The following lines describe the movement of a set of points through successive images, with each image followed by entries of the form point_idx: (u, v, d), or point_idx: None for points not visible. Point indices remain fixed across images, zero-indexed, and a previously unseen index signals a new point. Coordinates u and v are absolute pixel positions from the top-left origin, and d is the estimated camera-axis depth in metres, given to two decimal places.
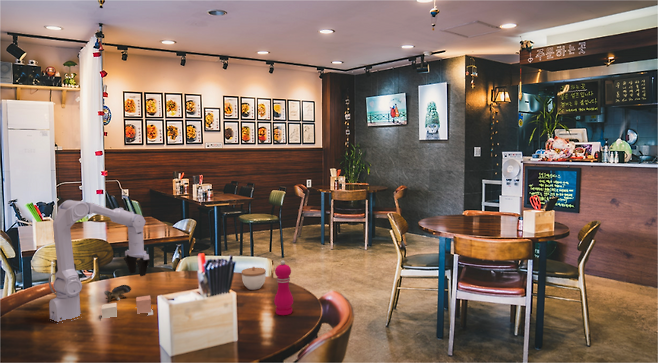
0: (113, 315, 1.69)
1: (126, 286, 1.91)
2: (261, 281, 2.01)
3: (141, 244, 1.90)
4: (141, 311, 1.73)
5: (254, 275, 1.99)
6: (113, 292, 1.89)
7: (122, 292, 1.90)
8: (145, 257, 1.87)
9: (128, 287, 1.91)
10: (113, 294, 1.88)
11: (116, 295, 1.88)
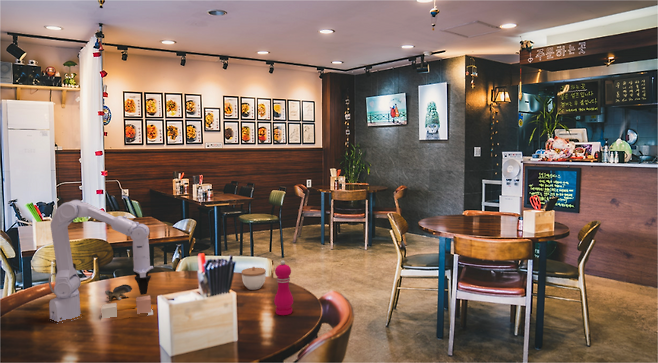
0: (113, 315, 1.69)
1: (127, 286, 1.91)
2: (261, 281, 2.01)
3: (143, 259, 1.72)
4: (141, 311, 1.73)
5: (254, 275, 1.99)
6: (114, 292, 1.89)
7: (123, 292, 1.91)
8: (141, 275, 1.68)
9: (129, 287, 1.92)
10: (113, 293, 1.88)
11: (117, 295, 1.89)
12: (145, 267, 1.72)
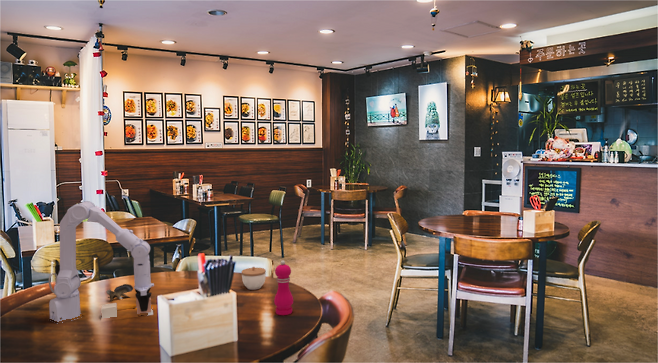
0: (113, 315, 1.69)
1: (128, 286, 1.92)
2: (261, 281, 2.01)
3: (144, 277, 1.72)
4: None
5: (254, 275, 1.99)
6: (115, 291, 1.90)
7: (124, 291, 1.91)
8: (142, 293, 1.68)
9: (130, 286, 1.92)
10: (115, 293, 1.89)
11: (118, 294, 1.90)
12: (146, 285, 1.73)
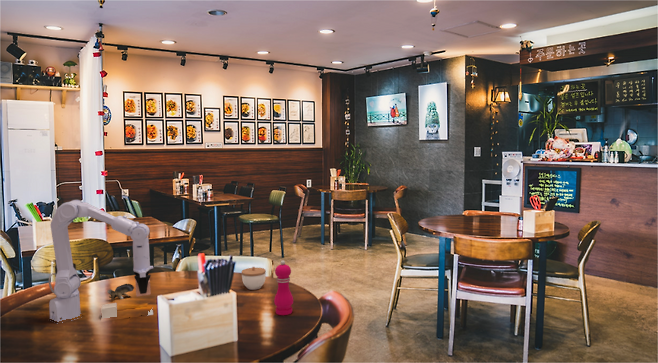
0: (113, 315, 1.69)
1: (129, 285, 1.92)
2: (261, 281, 2.01)
3: (143, 259, 1.72)
4: None
5: (254, 275, 1.99)
6: (116, 291, 1.90)
7: (125, 291, 1.92)
8: (141, 274, 1.68)
9: (131, 286, 1.93)
10: (116, 293, 1.90)
11: (119, 294, 1.90)
12: (145, 267, 1.72)
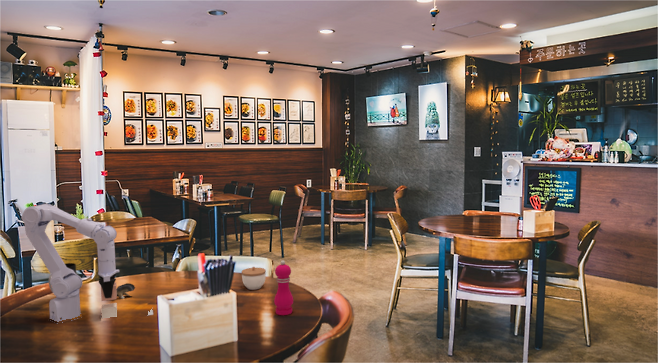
0: (113, 315, 1.69)
1: (130, 285, 1.93)
2: (261, 281, 2.01)
3: (108, 262, 1.67)
4: None
5: (254, 275, 1.99)
6: (117, 290, 1.91)
7: (126, 290, 1.92)
8: (105, 278, 1.63)
9: (132, 285, 1.93)
10: (117, 292, 1.90)
11: (120, 293, 1.90)
12: (110, 271, 1.67)
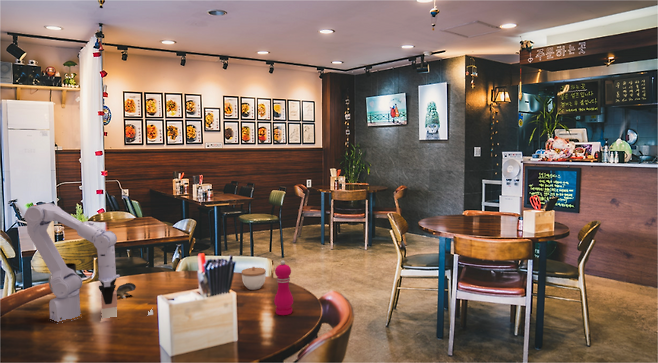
0: (113, 315, 1.69)
1: (131, 284, 1.93)
2: (261, 281, 2.01)
3: (108, 268, 1.67)
4: (106, 305, 1.67)
5: (254, 275, 1.99)
6: (118, 290, 1.91)
7: (127, 290, 1.93)
8: (105, 284, 1.63)
9: (133, 285, 1.94)
10: (118, 292, 1.91)
11: (121, 293, 1.91)
12: (110, 276, 1.67)
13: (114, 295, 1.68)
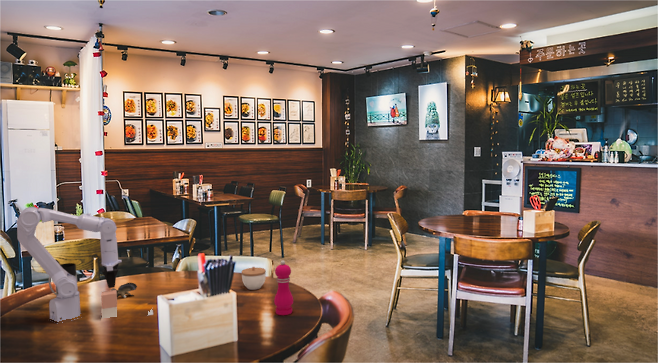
0: (113, 315, 1.69)
1: (132, 284, 1.94)
2: (261, 281, 2.01)
3: (111, 253, 1.74)
4: (106, 305, 1.67)
5: (254, 275, 1.99)
6: (119, 290, 1.92)
7: (128, 290, 1.93)
8: (108, 268, 1.69)
9: (134, 285, 1.94)
10: (119, 291, 1.91)
11: (122, 293, 1.92)
12: (113, 261, 1.74)
13: (114, 295, 1.68)
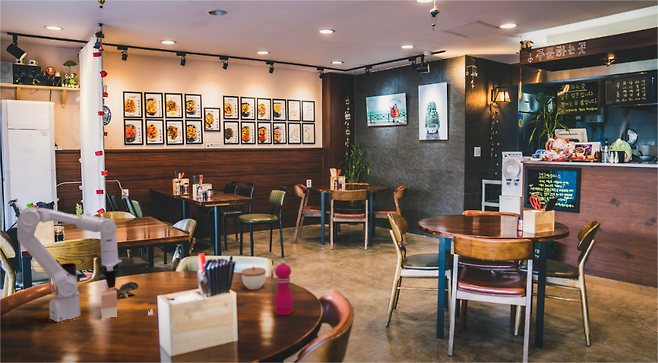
0: (113, 315, 1.69)
1: (134, 284, 1.95)
2: (261, 281, 2.01)
3: (111, 253, 1.74)
4: (106, 305, 1.67)
5: (254, 275, 1.99)
6: (121, 289, 1.92)
7: (129, 289, 1.94)
8: (108, 268, 1.69)
9: (135, 284, 1.95)
10: (120, 291, 1.92)
11: (124, 292, 1.92)
12: (113, 261, 1.74)
13: (114, 295, 1.68)
